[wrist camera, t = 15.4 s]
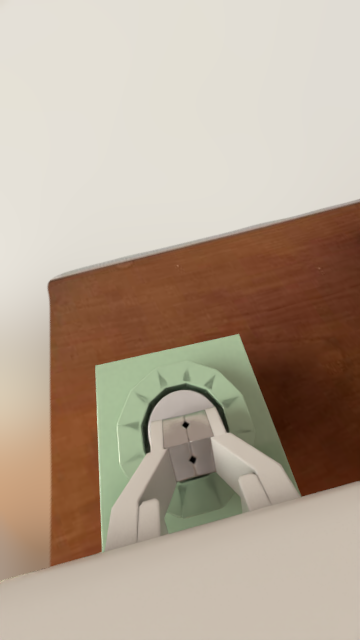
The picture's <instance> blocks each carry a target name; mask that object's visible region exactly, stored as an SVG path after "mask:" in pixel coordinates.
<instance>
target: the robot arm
mask: <svg viewBox="0 0 360 640" xmlns="http://www.w3.org/2000/svg"><path fill="white" fill-rule="evenodd" d="M214 472H217V474H218V475H219V476H220V477H221V478H222V479H223V480H224V481H225V482H226V483H227V484H228V485H229V486H230V487H231V488H232V489H233V490H234V491H235V492H236V493H237V494H238V495H239V496H240V497H241V505H242V514H238V515H235V516H231V517H227V518H224V519H220V520H217V521H213V522H210V523H206V524H202V525H199V526H195V527H192V528H188V529H185V530H181V531H177V532H174V533H170V534H169V533H168V530H167V526H166V523H165V519H164V518H165V515H166V512H167V509H168V507H169V504H170V501H171V498H172V496H173V493H174V490H175V487H176V485H177V483H176V482H180V481H183V480H186V479H190V478H193V477H196V476H201V475H205V474H210V473H214ZM0 640H360V481H357V482H353V483H349V484H346V485H342V486H339V487H335V488H331V489H328V490H324V491H321V492H317V493H314V494H310V495H306V496H303V497H301V496H300V495H299V493H298V492H297V490H296V488H295V487H294V485H293V484H292V482H291V480H290V479H289V477H288V476H287V474H286V472H285V471H284V469H283V467H282V466H281V464H279V463H278V462H276V461H275V460H273V459H272V458H270V457H268V456H267V455H265V454H264V453H262V452H261V451H259V450H257V449H256V448H254V447H253V446H251V445H249V444H248V443H246V442H245V441H243V440H242V439H240V438H238V437H237V436H235V435H234V434H232V433H231V432H230V433H227V432H226V429H225V427H224V425H223V422H222V420H221V418H220V415H219V413H218V411H217V409H216V407H211V408H207V409H205V410H200V411H196V412H192V413H188V414H184V415H179V416H175V417H170V418H166V419H162V420H157V421H153V422H151V452H150V453H147V454H146V456H145V457H144V459H143V460H142V462H141V464H140V465H139V467H138V468H137V470H136V471H135V473H134V474H133V476H132V477H131V479H130V481H129V482H128V484H127V485H126V487H125V488H124V490H123V491H122V493H121V495H120V496H119V498H118V499H117V501H116V502H115V504H114V505H113V507H112V509H111V515H110V521H109V527H108V533H107V540H106V546H105V552H102V553H98V554H94V555H91V556H87V557H84V558H80V559H77V560H73V561H69V562H66V563H62V564H59V565H55V566H51V567H48V568H44V569H41V570H37V571H34V572H30V573H27V574H23V575H19V576H16V577H12V578H8V579H5V580H1V581H0Z"/></svg>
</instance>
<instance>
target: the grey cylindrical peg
mask: <svg viewBox="0 0 360 640" xmlns="http://www.w3.org/2000/svg"><path fill="white" fill-rule="evenodd" d="M211 407H215V406H214V405H213V404H212V402H211V401H210V400H209V399H208V398H206V397H205V396H204V395H202V394H200V393H198V392H195V391H192V390H178V391H174V392H172V393H169V394H168V395H166V396H164V397H163V398H162V399H161V400H160V401H159V402H158V403H157V404H156V406H155V407H154V409H153V411H152V413H151V416H150V419H149V423H148V439H149V443H150V447H151V422H153V421H157V420H162V419H166V418H170V417H175V416H179V415H184V414H188V413H192V412H196V411H200V410H205V409H207V408H211Z"/></svg>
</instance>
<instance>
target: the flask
mask: <svg viewBox="0 0 360 640" xmlns="http://www.w3.org/2000/svg"><path fill="white" fill-rule="evenodd" d="M95 370H96V398H97V425H98V453H99V481H100V508H101V536H102V552H105V546H106V540H107V533H108V527H109V521H110V515H111V509H112V507H113V505H114V504H115V502H116V501H117V499H118V498H119V496H120V495H121V493H122V491H123V490H124V488H125V487H126V485H127V484H128V482H129V481H130V479H131V477H132V476H133V474H134V473H135V471H136V470H137V468H138V467H139V465H140V464H141V462H142V460H143V459H144V457H145V456H146V454H147V453H150V452H151V447H150V443H149V439H148V423H149V419H150V416H151V413H152V411H153V409H154V407H155V406H156V404H157V403H158V402H159V401H160V400H161V399H162V398H163V397H164V396H166V395H168V394H169V393H172V392H174V391H178V390H192V391H195V392H198V393H200V394H202V395H204V396H205V397H206V398H208V399H209V400H210V401H211V402H212V404H213V405H214V406H215V407H216V409H217V411H218V413H219V415H220V418H221V420H222V422H223V425H224V427H225V429H226V432H227V433H230V432H231V433H232V434H234V435H235V436H237V437H238V438H240V439H242V440H243V441H245V442H246V443H248V444H249V445H251V446H253V447H254V448H256V449H257V450H259V451H261V452H262V453H264V454H265V455H267V456H268V457H270V458H272V459H273V460H275V461H276V462H278V463H279V464H281V466H282V467H283V469H284V471H285V472H286V474H287V476H288V477H289V479H290V480H291V482H292V484H293V485H294V487H295V488H296V490H297V492H298V493H299V495H300V496H301V494H300V492H299V489H298V487H297V484H296V481H295V479H294V476H293V473H292V471H291V468H290V466H289V463H288V460H287V458H286V455H285V453H284V450H283V447H282V445H281V442H280V440H279V437H278V434H277V432H276V429H275V427H274V424H273V421H272V419H271V416H270V414H269V411H268V408H267V406H266V403H265V401H264V398H263V395H262V393H261V390H260V388H259V385H258V382H257V380H256V377H255V374H254V372H253V369H252V367H251V364H250V361H249V359H248V356H247V354H246V351H245V348H244V346H243V343H242V341H241V338H240V335H239V334H237V335H233V336H228V337H223V338H219V339H214V340H210V341H205V342H201V343H196V344H192V345H187V346H183V347H178V348H173V349H169V350H164V351H160V352H155V353H151V354H146V355H142V356H137V357H133V358H128V359H123V360H119V361H114V362H110V363H105V364H101V365H96V366H95ZM176 483H177V485H176V487H175V490H174V493H173V496H172V498H171V501H170V504H169V507H168V509H167V512H166V515H165V518H164V519H165V523H166V526H167V530H168V533H169V534H170V533H174V532H177V531H181V530H185V529H188V528H192V527H195V526H199V525H202V524H206V523H210V522H213V521H217V520H220V519H224V518H227V517H231V516H235V515H238V514H242V505H241V497H240V496H239V495H238V494H237V493H236V492H235V491H234V490H233V489H232V488H231V487H230V486H229V485H228V484H227V483H226V482H225V481H224V480H223V479H222V478H221V477H220V476H219V475H218V474H217V472H214V473H210V474H205V475H201V476H196V477H193V478H190V479H186V480H183V481H180V482H176Z"/></svg>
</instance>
